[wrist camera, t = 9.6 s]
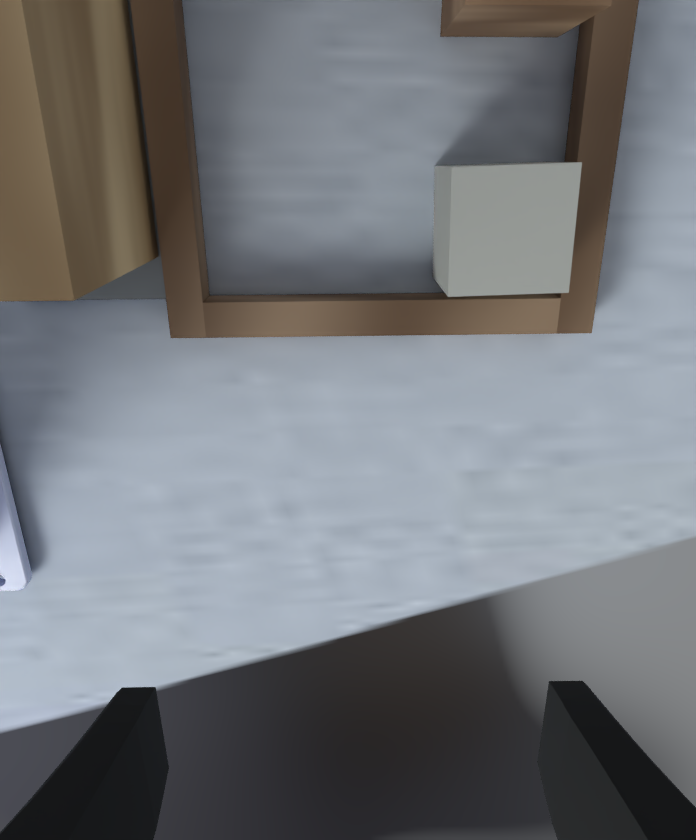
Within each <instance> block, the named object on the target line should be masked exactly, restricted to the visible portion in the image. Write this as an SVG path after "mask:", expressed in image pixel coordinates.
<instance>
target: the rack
mask: <svg viewBox="0 0 696 840" xmlns="http://www.w3.org/2000/svg"><path fill="white" fill-rule="evenodd" d="M638 1H639V0H612V4H611V6H610V7H608V8H606V9H605V10H603V11H601V12H600V13H598V14H596V15H594V16H593V17H591V18H589V19H588V20H586V21H584V22H583V23H581V24H580V28H579V37H578V46H577V55H576V64H575V73H574V82H573V90H572V99H571V108H570V117H569V126H568V135H567V144H566V153H565V161H564V162H582V168H581V178H580V188H579V197H578V207H577V217H576V227H575V236H574V246H573V256H572V266H571V276H570V285H569V293H546V294H517V295H488V296H459V297H448V296H447V295H446V294H445V293H387V294H301V295H214V296H210V295H209V284H208V274H207V263H206V252H205V242H204V231H203V220H202V210H201V199H200V188H199V178H198V167H197V156H196V146H195V135H194V124H193V114H192V103H191V92H190V82H189V71H188V60H187V50H186V39H185V28H184V18H183V7H182V0H130V3H131V11H132V19H133V28H134V36H135V44H136V53H137V61H138V69H139V78H140V86H141V94H142V103H143V111H144V119H145V127H146V136H147V144H148V152H149V161H150V169H151V177H152V186H153V194H154V202H155V211H156V219H157V227H158V236H159V244H160V252H161V260H162V269H163V277H164V285H165V294H166V302H167V310H168V319H169V327H170V335H171V338H216V337H300V336H384V335H468V334H552V333H592V327H593V320H594V313H595V306H596V298H597V291H598V284H599V277H600V270H601V263H602V256H603V249H604V242H605V235H606V228H607V221H608V214H609V206H610V199H611V192H612V185H613V178H614V171H615V164H616V157H617V150H618V143H619V136H620V129H621V122H622V115H623V107H624V100H625V93H626V86H627V79H628V72H629V65H630V58H631V51H632V44H633V37H634V30H635V23H636V16H637V8H638Z"/></svg>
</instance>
